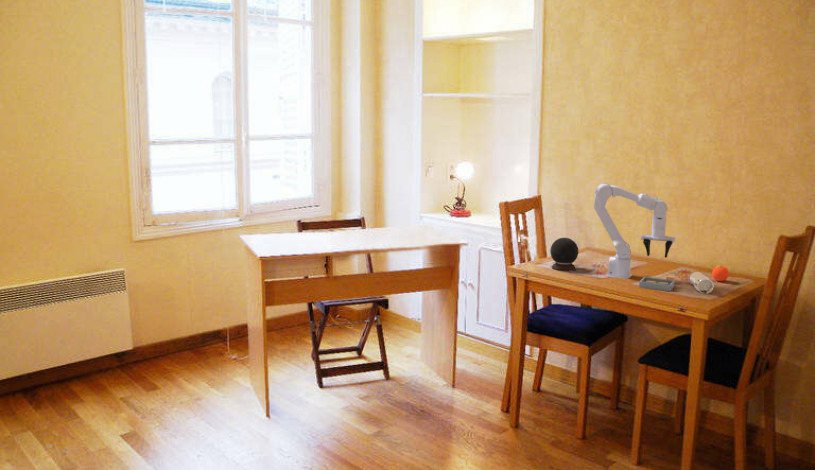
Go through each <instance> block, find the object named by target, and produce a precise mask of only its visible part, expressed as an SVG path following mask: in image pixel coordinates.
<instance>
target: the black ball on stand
mask: <svg viewBox="0 0 815 470" xmlns="http://www.w3.org/2000/svg"><path fill="white" fill-rule="evenodd" d="M549 253H550V256H551V259H552V260H553V261H554V263H553V264H552V265H551V269H552V270H553V271H554V270H555V271H558V272H572V271H573V272H574V271H575V270H576V266H575V264H573V263H574V262H575V261H576V260H577V259H578V257H579V247H578V245H577V243H576V241H574V240H573V239H572V238H569V237H559V238H557V239H556V240H554V241H553V242H552V244H551V246H550V250H549Z"/></svg>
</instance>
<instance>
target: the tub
mask: <svg viewBox="0 0 815 470" xmlns="http://www.w3.org/2000/svg"><path fill="white" fill-rule="evenodd" d="M666 279H667V278H666ZM666 279H663V278H656V277H649V276H648V277H647V276H643V278H642V279H640V281H639V282H638V283H639V284H638V288H642V289H649V290H656V291H657V290H658V291H663V292H664V291H666V292H671V291H672V290H673V288H675V283H676V280H675V281H674V280H666ZM647 280H648V281H656V283H649V282H646V281H647ZM658 282H665V283H668V285H665V284H658Z"/></svg>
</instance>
